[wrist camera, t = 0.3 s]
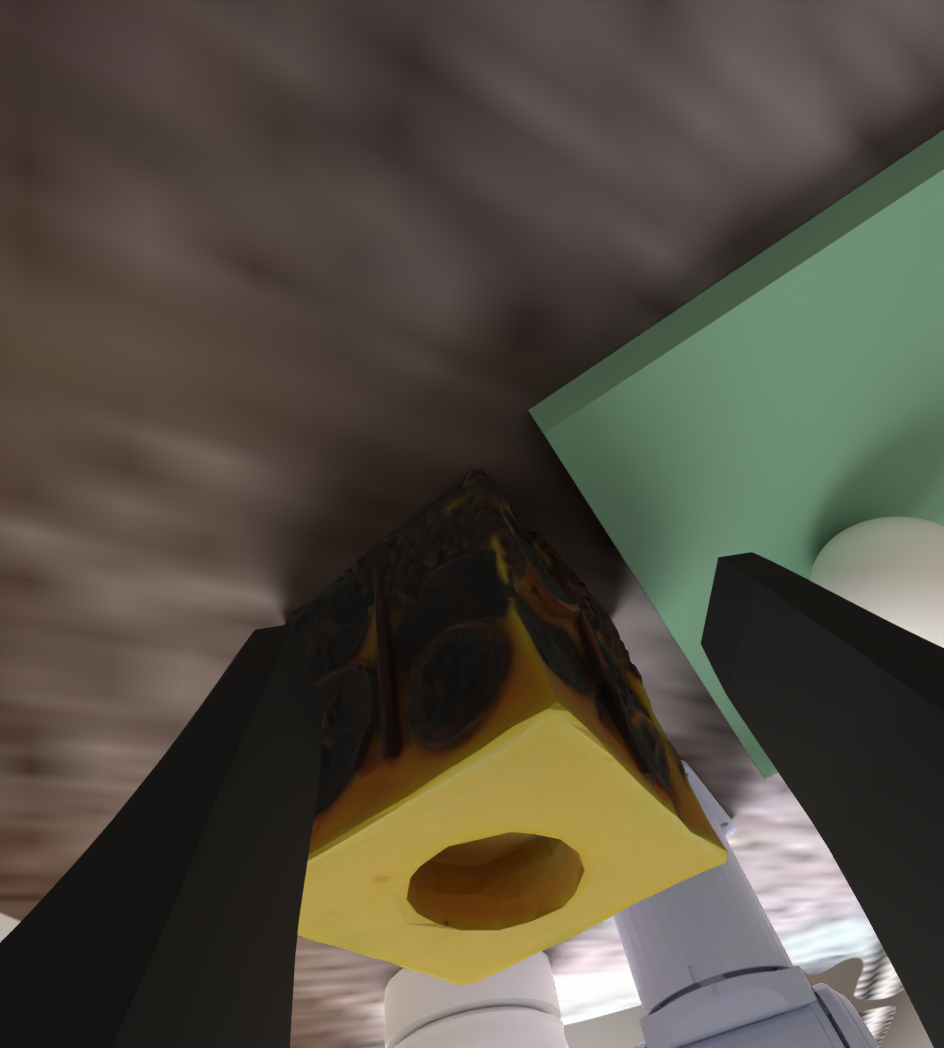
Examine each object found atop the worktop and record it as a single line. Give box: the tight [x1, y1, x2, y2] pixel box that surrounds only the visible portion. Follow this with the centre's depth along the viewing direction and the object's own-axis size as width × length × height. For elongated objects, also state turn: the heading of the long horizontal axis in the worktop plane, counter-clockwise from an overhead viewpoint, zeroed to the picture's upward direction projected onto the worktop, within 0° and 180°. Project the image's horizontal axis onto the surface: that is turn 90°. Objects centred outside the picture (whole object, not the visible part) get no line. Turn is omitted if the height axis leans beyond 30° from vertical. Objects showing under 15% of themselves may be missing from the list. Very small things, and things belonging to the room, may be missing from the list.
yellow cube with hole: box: [284, 470, 728, 986], centre depth 18 cm, size 10×10×10 cm
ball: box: [810, 516, 944, 648], centre depth 18 cm, size 5×5×5 cm
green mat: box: [528, 130, 944, 779], centre depth 22 cm, size 24×14×2 cm, turn 34°
